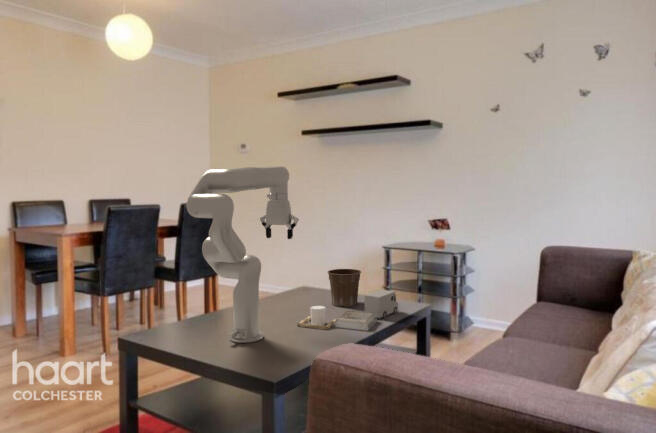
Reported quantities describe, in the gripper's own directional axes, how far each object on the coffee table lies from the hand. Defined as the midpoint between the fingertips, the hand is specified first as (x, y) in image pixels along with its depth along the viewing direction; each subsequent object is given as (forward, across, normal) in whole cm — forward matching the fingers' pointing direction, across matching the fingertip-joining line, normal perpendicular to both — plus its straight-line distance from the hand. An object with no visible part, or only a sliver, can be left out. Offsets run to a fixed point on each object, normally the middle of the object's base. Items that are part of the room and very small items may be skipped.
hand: (279, 238), depth 202 cm
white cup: (+36, +16, +2) cm, 39 cm away
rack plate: (+35, +32, +6) cm, 48 cm away
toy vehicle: (+36, +38, +25) cm, 58 cm away
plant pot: (+36, +16, +37) cm, 54 cm away
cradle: (+35, +16, +2) cm, 39 cm away
